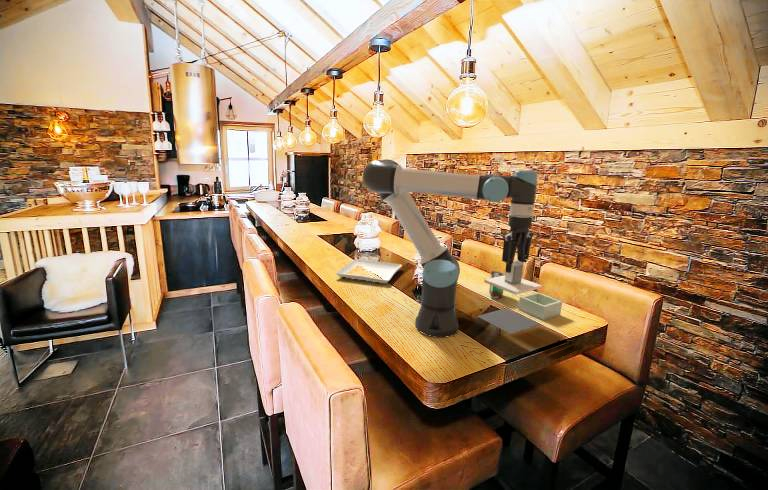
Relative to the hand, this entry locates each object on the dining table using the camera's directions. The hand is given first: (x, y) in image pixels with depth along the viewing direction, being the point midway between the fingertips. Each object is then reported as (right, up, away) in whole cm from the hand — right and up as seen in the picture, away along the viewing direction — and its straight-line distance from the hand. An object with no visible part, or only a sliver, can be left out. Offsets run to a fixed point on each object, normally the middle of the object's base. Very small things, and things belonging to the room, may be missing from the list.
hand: (512, 279), depth 129 cm
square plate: (-54, -3, +53) cm, 76 cm away
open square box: (+15, -15, +12) cm, 24 cm away
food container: (+3, -10, +28) cm, 30 cm away
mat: (0, -16, +4) cm, 17 cm away
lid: (0, -2, +1) cm, 2 cm away
